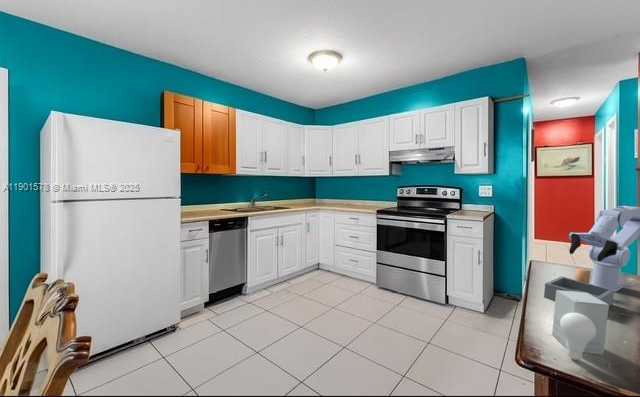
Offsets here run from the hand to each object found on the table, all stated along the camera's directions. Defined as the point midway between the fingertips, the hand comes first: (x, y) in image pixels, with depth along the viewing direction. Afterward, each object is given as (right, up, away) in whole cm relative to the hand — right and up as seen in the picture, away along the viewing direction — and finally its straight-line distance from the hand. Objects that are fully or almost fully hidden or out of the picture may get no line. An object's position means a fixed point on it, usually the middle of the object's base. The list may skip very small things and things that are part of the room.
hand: (584, 255), depth 99 cm
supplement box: (-28, -17, -28) cm, 43 cm away
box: (-5, -15, -3) cm, 16 cm away
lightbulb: (-34, -18, -34) cm, 51 cm away
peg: (+4, -14, +6) cm, 16 cm away
